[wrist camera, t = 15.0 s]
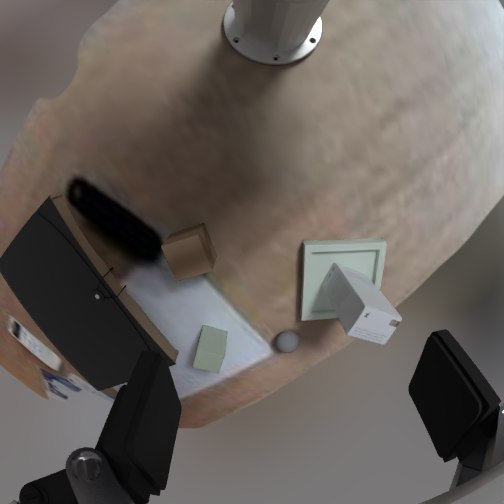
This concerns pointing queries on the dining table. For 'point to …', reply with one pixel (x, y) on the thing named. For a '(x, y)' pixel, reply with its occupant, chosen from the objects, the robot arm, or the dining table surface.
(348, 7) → the dining table surface
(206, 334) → the sage block
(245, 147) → the dining table surface
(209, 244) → the walnut cube
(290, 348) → the grey ball
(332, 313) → the tray
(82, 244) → the file folder
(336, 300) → the skincare box
